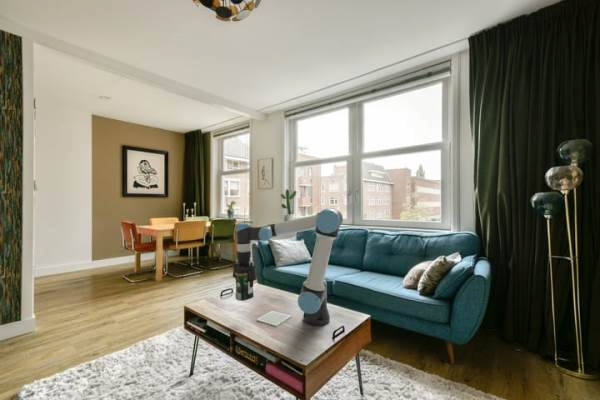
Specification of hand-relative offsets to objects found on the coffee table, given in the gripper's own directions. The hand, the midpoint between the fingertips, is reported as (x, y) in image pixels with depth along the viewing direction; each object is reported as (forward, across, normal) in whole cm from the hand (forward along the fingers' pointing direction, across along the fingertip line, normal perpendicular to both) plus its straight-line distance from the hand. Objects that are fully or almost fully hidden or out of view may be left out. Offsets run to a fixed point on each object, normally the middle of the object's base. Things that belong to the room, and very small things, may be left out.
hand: (244, 291), depth 152 cm
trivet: (+17, -12, -12) cm, 24 cm away
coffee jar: (+4, 0, 0) cm, 4 cm away
